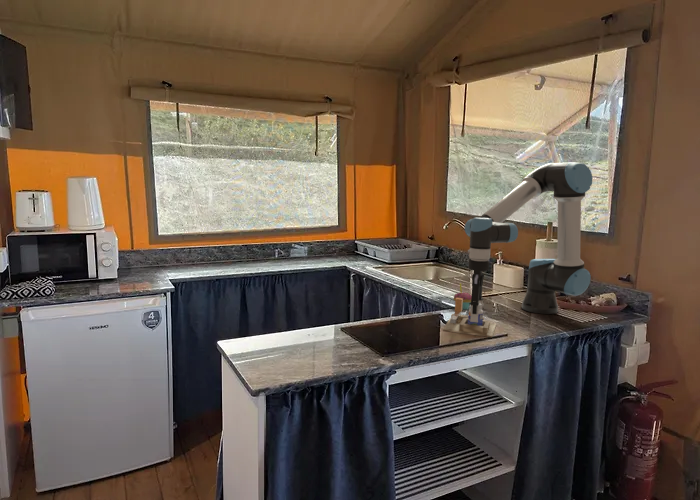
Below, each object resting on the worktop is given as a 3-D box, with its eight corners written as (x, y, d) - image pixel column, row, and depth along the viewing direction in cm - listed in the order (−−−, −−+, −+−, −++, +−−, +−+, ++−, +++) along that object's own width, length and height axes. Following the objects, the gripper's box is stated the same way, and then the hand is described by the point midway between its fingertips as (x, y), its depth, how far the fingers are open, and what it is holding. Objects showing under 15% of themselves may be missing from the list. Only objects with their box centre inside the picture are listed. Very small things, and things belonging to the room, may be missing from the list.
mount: (496, 325, 191) (496, 317, 191) (492, 337, 176) (492, 329, 175) (450, 319, 198) (450, 311, 197) (442, 330, 182) (443, 322, 182)
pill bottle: (464, 328, 183) (466, 303, 182) (471, 325, 187) (472, 301, 186) (478, 331, 180) (480, 306, 179) (484, 328, 184) (486, 303, 183)
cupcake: (458, 311, 210) (460, 284, 208) (449, 306, 218) (451, 280, 216) (476, 310, 212) (477, 283, 211) (466, 305, 220) (468, 279, 219)
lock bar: (461, 314, 193) (462, 298, 192) (456, 323, 180) (457, 306, 179) (455, 313, 194) (456, 297, 193) (449, 322, 181) (450, 305, 180)
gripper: (472, 254, 190) (468, 311, 193) (465, 262, 172) (461, 324, 175) (492, 256, 187) (488, 314, 190) (486, 264, 169) (482, 327, 173)
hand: (475, 319), depth 183 cm, fingers open, 6 cm apart
